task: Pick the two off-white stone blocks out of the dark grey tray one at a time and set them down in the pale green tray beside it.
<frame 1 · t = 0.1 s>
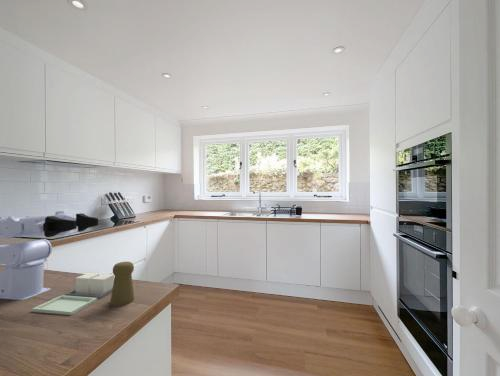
hand: (87, 223, 67), 22 cm above the worktop, tool horizontal, fingers open, 7 cm apart
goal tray: (66, 307, 61), on the worktop
cork: (122, 303, 65), on the worktop
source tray: (94, 292, 71), on the worktop
stone block 1: (87, 290, 71), resting on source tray
stone block 2: (102, 291, 71), resting on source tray
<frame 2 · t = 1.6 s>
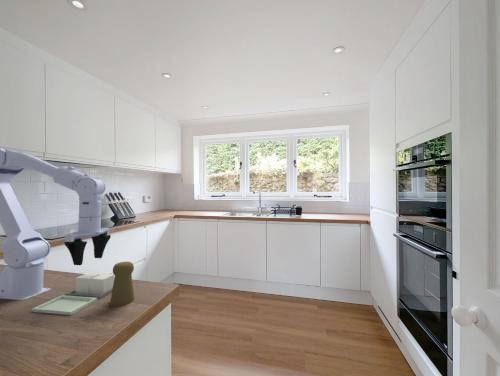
hand: (88, 261, 72), 9 cm above the worktop, tool pointing down, fingers open, 7 cm apart
nothing on the worktop moved.
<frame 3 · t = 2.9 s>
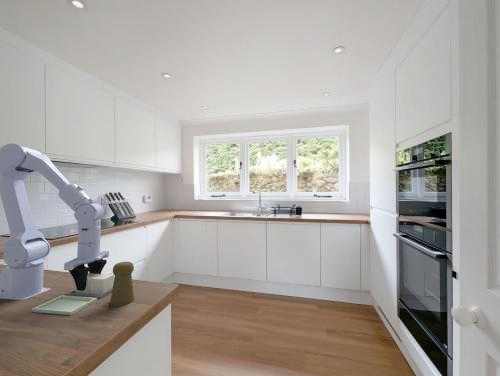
hand: (87, 286, 71), 2 cm above the worktop, tool pointing down, fingers closed on stone block 1, 4 cm apart
stone block 1: (87, 290, 71), resting on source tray, touching gripper
everything else where it was.
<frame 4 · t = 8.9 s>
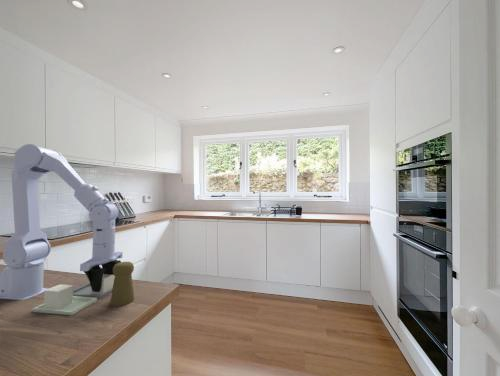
hand: (102, 288, 71), 2 cm above the worktop, tool pointing down, fingers closed on stone block 2, 4 cm apart
stone block 1: (58, 305, 62), resting on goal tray
stone block 2: (102, 291, 71), resting on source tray, touching gripper
everything else where it was.
when the fingers open (3 cm above the worktop, at t = 11.8 s): stone block 2 stays where it is, resting on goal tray.
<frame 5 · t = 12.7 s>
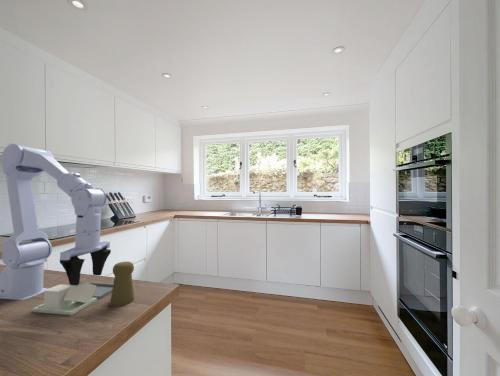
hand: (86, 279, 65), 6 cm above the worktop, tool pointing down, fingers open, 7 cm apart
stone block 2: (76, 301, 62), point 2 cm above the worktop, tilted 30°, touching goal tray
everything else where it was.
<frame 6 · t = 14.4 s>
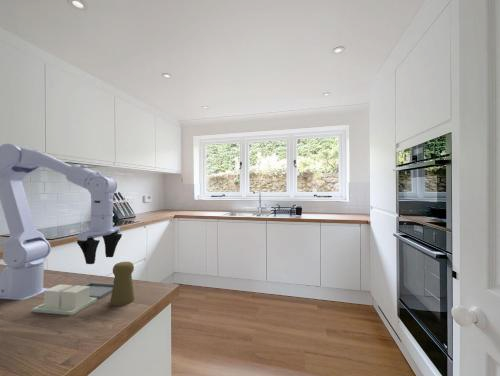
hand: (100, 260, 71), 10 cm above the worktop, tool pointing down, fingers open, 7 cm apart
stone block 2: (75, 306, 61), resting on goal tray
everything else where it was.
at the end: stone block 1 inside the target area on the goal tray (2.3 cm from its centre), point 0.5 cm above the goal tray's base; stone block 2 inside the target area on the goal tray (2.6 cm from its centre), point 0.5 cm above the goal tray's base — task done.
